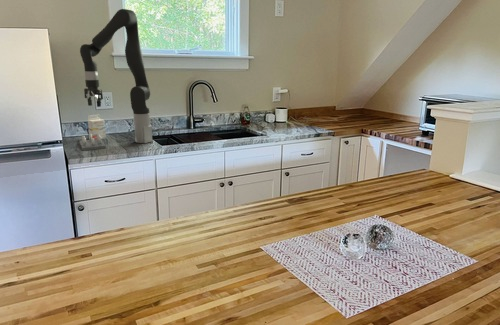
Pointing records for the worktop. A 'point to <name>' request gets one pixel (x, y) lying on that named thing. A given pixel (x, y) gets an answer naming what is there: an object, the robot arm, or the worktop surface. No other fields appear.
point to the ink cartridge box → (96, 126)
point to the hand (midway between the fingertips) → (94, 106)
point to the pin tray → (88, 145)
